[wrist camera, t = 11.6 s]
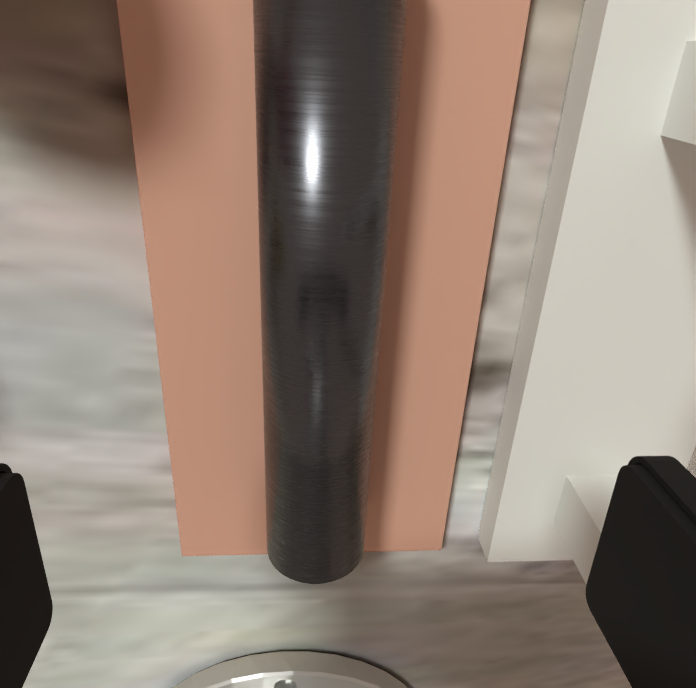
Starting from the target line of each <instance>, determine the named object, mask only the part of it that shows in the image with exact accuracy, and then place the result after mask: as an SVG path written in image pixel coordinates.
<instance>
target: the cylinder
mask: <svg viewBox="0 0 696 688" xmlns="http://www.w3.org/2000/svg"><path fill="white" fill-rule="evenodd" d="M406 9H407V0H253V24H254V63H255V102H256V141H257V180H258V219H259V258H260V298H261V337H262V376H263V415H264V454H265V493H266V532H267V553H268V556H269V559H270V561H271V563H272V564H273V565H274V567H275V568H276V569H277V570H278V571H279V572H280V573H282V574H283V575H285V576H286V577H288V578H290V579H293V580H295V581H299V582H303V583H309V584H320V583H327V582H332V581H335V580H338V579H340V578H342V577H344V576H346V575H347V574H349V573H350V572H351V571H352V570H353V569H354V568H355V567H356V566H357V565H358V563H359V562H360V560H361V558H362V555H363V551H364V541H365V528H366V515H367V503H368V490H369V477H370V465H371V452H372V439H373V427H374V414H375V401H376V389H377V376H378V363H379V351H380V338H381V325H382V313H383V300H384V287H385V275H386V262H387V250H388V237H389V224H390V212H391V199H392V186H393V174H394V161H395V148H396V136H397V123H398V110H399V98H400V85H401V72H402V60H403V47H404V34H405V22H406Z"/></svg>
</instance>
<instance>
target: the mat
mask: <svg viewBox="0 0 696 688" xmlns="http://www.w3.org/2000/svg"><path fill="white" fill-rule="evenodd" d="M116 1H117V10H118V18H119V27H120V35H121V43H122V52H123V60H124V69H125V77H126V86H127V94H128V103H129V111H130V120H131V128H132V137H133V145H134V154H135V162H136V170H137V179H138V187H139V196H140V204H141V213H142V221H143V230H144V238H145V247H146V255H147V264H148V272H149V281H150V289H151V297H152V306H153V314H154V323H155V331H156V340H157V348H158V357H159V365H160V374H161V382H162V391H163V399H164V408H165V416H166V424H167V433H168V441H169V450H170V458H171V467H172V475H173V484H174V492H175V501H176V509H177V518H178V526H179V534H180V543H181V551H182V556H208V555H250V554H268V553H267V532H266V493H265V454H264V415H263V376H262V337H261V298H260V258H259V219H258V180H257V141H256V102H255V63H254V24H253V0H116ZM530 1H531V0H407V9H406V22H405V34H404V47H403V60H402V72H401V85H400V98H399V110H398V123H397V136H396V148H395V161H394V174H393V186H392V199H391V212H390V224H389V237H388V250H387V262H386V275H385V287H384V300H383V313H382V325H381V338H380V351H379V363H378V376H377V389H376V401H375V414H374V427H373V439H372V452H371V465H370V477H369V490H368V503H367V515H366V528H365V541H364V551H363V552H376V551H418V550H441V548H442V542H443V535H444V529H445V523H446V517H447V511H448V505H449V499H450V493H451V486H452V480H453V474H454V468H455V462H456V456H457V450H458V443H459V437H460V431H461V425H462V419H463V413H464V407H465V400H466V394H467V388H468V382H469V376H470V370H471V364H472V357H473V351H474V345H475V339H476V333H477V327H478V321H479V315H480V308H481V302H482V296H483V290H484V284H485V278H486V272H487V265H488V259H489V253H490V247H491V241H492V235H493V229H494V222H495V216H496V210H497V204H498V198H499V192H500V186H501V179H502V173H503V167H504V161H505V155H506V149H507V143H508V136H509V130H510V124H511V118H512V112H513V106H514V100H515V94H516V87H517V81H518V75H519V69H520V63H521V57H522V51H523V44H524V38H525V32H526V26H527V20H528V14H529V8H530Z"/></svg>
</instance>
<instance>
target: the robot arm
mask: <svg viewBox="0 0 696 688" xmlns="http://www.w3.org/2000/svg"><path fill="white" fill-rule="evenodd" d="M586 598H587V603H588V606H589V608H590V611H591V613H592V614H593V616H594V618H595V620H596V622H597V624H598V625H599V627H600V629H601V631H602V633H603V635H604V636H605V638H606V640H607V642H608V644H609V646H610V648H611V649H612V651H613V653H614V655H615V657H616V659H617V660H618V662H619V664H620V666H621V668H622V670H623V671H624V673H625V675H626V677H627V679H628V681H629V682H630V684H631V686H632V688H696V478H695V477H694V476H693V475H692V474H691V473H690V472H689V471H688V470H687V469H686V468H685V467H684V466H683V465H682V464H681V463H680V462H679V461H678V460H677V459H675V458H674V457H672V456H636V457H633V458H632V459H631V460H630V461H629V463H628V465H625V466H622V467H621V468H620V470H619V473H618V476H617V479H616V483H615V486H614V490H613V493H612V497H611V500H610V504H609V507H608V511H607V514H606V518H605V521H604V525H603V528H602V532H601V535H600V539H599V542H598V546H597V549H596V553H595V556H594V560H593V563H592V567H591V570H590V574H589V577H588V581H587V584H586ZM51 618H52V599H51V595H50V591H49V587H48V582H47V578H46V574H45V569H44V565H43V561H42V556H41V552H40V548H39V544H38V539H37V535H36V531H35V526H34V522H33V518H32V513H31V509H30V505H29V500H28V496H27V492H26V488H25V483H24V480H23V477H22V476H21V475H20V474H18V473H12V471H11V469H10V467H9V466H8V465H6V464H3V463H0V688H22V687H23V684H24V682H25V680H26V678H27V675H28V673H29V671H30V669H31V667H32V664H33V662H34V660H35V658H36V655H37V653H38V651H39V649H40V646H41V644H42V642H43V640H44V638H45V635H46V633H47V631H48V628H49V626H50V622H51ZM172 688H407V687H406V686H405V685H404V684H403V683H402V682H400V681H399V680H397V679H396V678H394V677H393V676H391V675H390V674H388V673H387V672H385V671H383V670H381V669H379V668H376V667H374V666H372V665H370V664H367V663H365V662H363V661H359V660H355V659H351V658H348V657H344V656H340V655H335V654H327V653H318V652H310V651H278V652H271V653H263V654H255V655H248V656H245V657H241V658H237V659H233V660H229V661H225V662H222V663H219V664H217V665H214V666H212V667H209V668H207V669H204V670H202V671H200V672H197V673H195V674H193V675H192V676H190V677H189V678H187V679H185V680H184V681H182V682H180V683H179V684H177V685H176V686H174V687H172Z"/></svg>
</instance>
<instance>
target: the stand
mask: <svg viewBox="0 0 696 688" xmlns="http://www.w3.org/2000/svg"><path fill="white" fill-rule="evenodd" d="M695 447H696V0H585V3H584V8H583V13H582V18H581V23H580V28H579V33H578V38H577V43H576V48H575V53H574V58H573V63H572V68H571V73H570V78H569V83H568V88H567V93H566V98H565V103H564V108H563V113H562V118H561V123H560V128H559V133H558V138H557V143H556V148H555V153H554V158H553V163H552V168H551V173H550V178H549V183H548V188H547V193H546V198H545V203H544V208H543V213H542V218H541V223H540V228H539V233H538V238H537V243H536V248H535V253H534V258H533V263H532V268H531V273H530V278H529V283H528V288H527V293H526V298H525V303H524V308H523V313H522V318H521V323H520V328H519V333H518V338H517V343H516V348H515V353H514V358H513V363H512V368H511V374H510V379H509V384H508V389H507V394H506V399H505V404H504V409H503V414H502V419H501V424H500V429H499V434H498V439H497V444H496V449H495V454H494V459H493V464H492V469H491V474H490V479H489V484H488V489H487V494H486V499H485V504H484V509H483V514H482V519H481V524H480V529H479V534H478V538H479V541H480V543H481V546H482V549H483V552H484V555H485V557H486V560H487V562H518V561H557V560H573V561H574V563H575V565H576V566H577V568H578V570H579V572H580V574H581V576H582V578H583V580H584V582H585V584H587V581H588V577H589V574H590V570H591V567H592V563H593V560H594V556H595V553H596V549H597V546H598V542H599V539H600V535H601V532H602V528H603V525H604V521H605V518H606V514H607V511H608V507H609V504H610V500H611V497H612V493H613V490H614V486H615V483H616V479H617V476H618V473H619V470H620V468H621V467H622V466H625V465H628V463H629V461H630V460H631V459H632V458H633V457H636V456H672V457H674V458H675V459H677V460H678V461H679V462H680V463H681V464H682V465H683V466H684V467H685V468H686V469H687V467H688V464H689V462H690V459H691V457H692V454H693V452H694V449H695Z"/></svg>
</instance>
